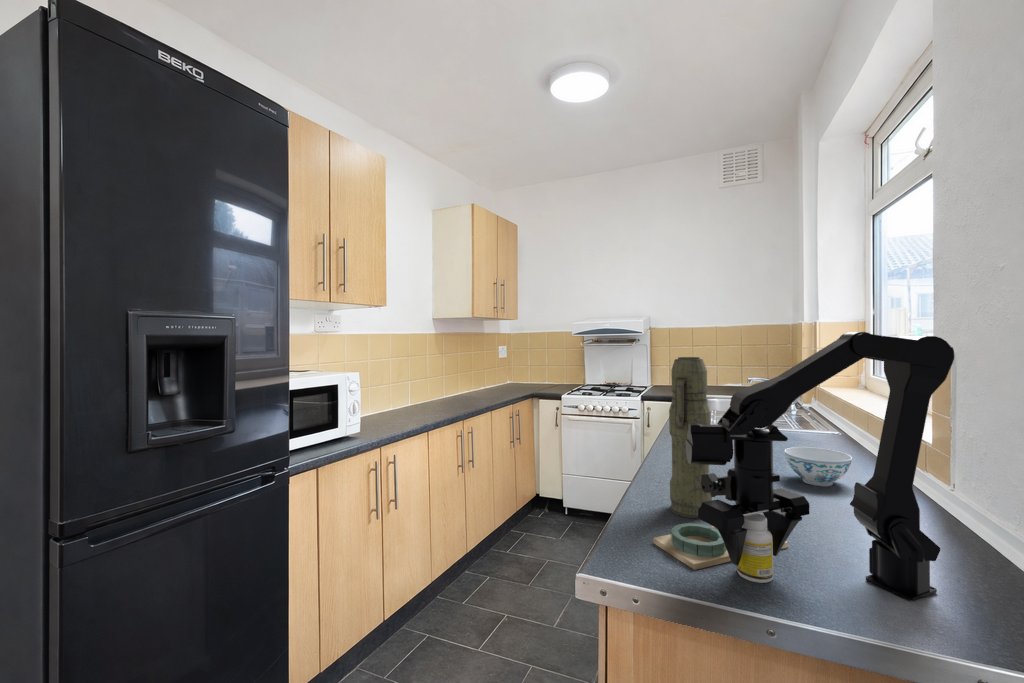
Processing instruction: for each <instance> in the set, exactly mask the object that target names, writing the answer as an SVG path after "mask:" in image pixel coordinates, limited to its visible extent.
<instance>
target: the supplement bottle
mask: <svg viewBox="0 0 1024 683" xmlns="http://www.w3.org/2000/svg"><path fill="white" fill-rule="evenodd" d="M742 527H743V528H745V529H747V534H746V538H745V542H744V547H743V551H742V556H741V559H740V562H739V565H737V566H736V571H737V573H738V575H739V576H740V577H742V579H744V580H747V581H749V582H753V583H760V584H765V583H770V582H772V581H773V579H774V556H773V540H772V534H771V533H770V532H769V531H768V530H767V518H766V517H765V516H764V514H761V513H758V514H753V515H748V516H744V524H743V526H742Z"/></svg>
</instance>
